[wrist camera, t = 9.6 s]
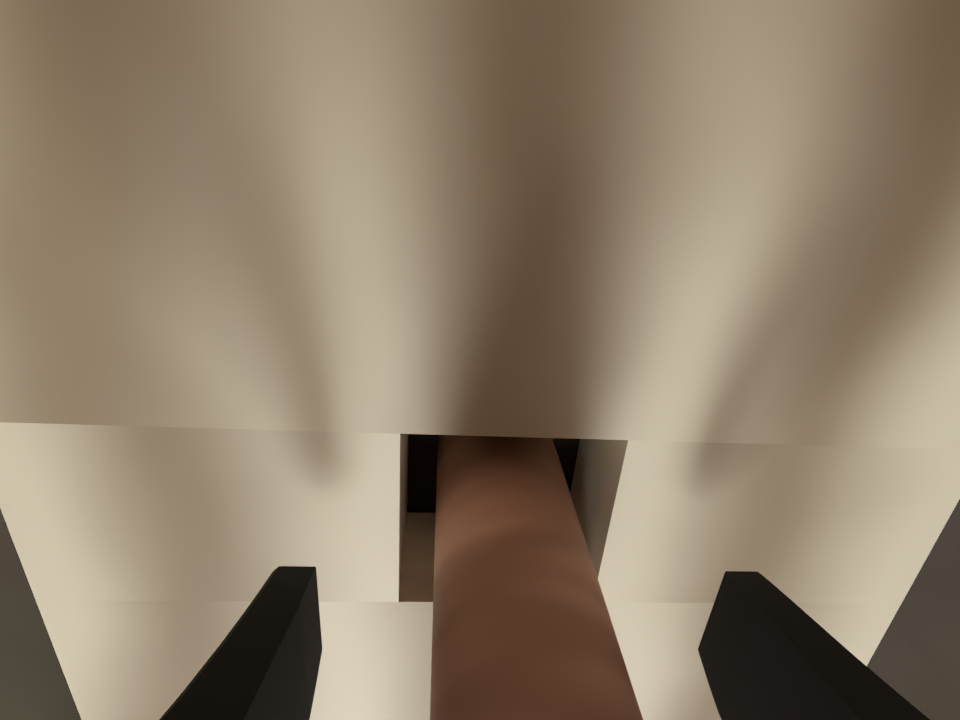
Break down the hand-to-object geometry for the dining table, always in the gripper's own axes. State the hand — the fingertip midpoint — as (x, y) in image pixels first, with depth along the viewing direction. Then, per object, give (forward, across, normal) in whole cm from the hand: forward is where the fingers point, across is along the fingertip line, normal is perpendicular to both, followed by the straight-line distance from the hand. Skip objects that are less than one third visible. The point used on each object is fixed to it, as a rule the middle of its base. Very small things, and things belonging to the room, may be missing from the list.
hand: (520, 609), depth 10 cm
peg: (+5, 0, 0) cm, 5 cm away
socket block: (+5, 0, 0) cm, 5 cm away
